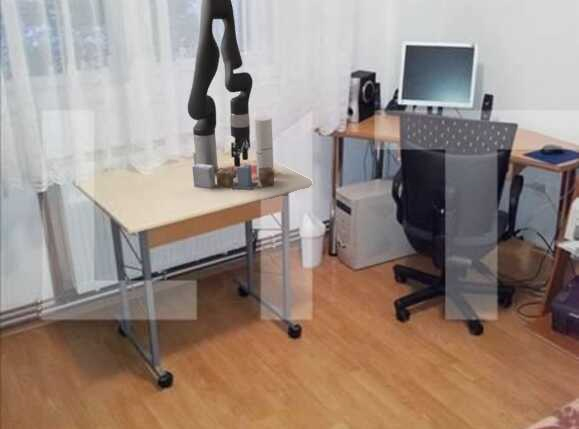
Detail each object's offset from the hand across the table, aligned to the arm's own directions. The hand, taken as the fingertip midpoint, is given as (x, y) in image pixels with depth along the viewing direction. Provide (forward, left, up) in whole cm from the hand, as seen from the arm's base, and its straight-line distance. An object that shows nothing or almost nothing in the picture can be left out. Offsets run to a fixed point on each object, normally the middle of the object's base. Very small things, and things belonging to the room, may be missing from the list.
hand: (241, 163), depth 259 cm
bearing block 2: (+9, +5, -10) cm, 14 cm away
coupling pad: (+1, 0, -10) cm, 10 cm away
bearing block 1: (-8, 0, -10) cm, 13 cm away
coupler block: (+1, +1, -10) cm, 10 cm away
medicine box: (-16, -3, -10) cm, 19 cm away
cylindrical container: (+5, +15, -10) cm, 19 cm away
